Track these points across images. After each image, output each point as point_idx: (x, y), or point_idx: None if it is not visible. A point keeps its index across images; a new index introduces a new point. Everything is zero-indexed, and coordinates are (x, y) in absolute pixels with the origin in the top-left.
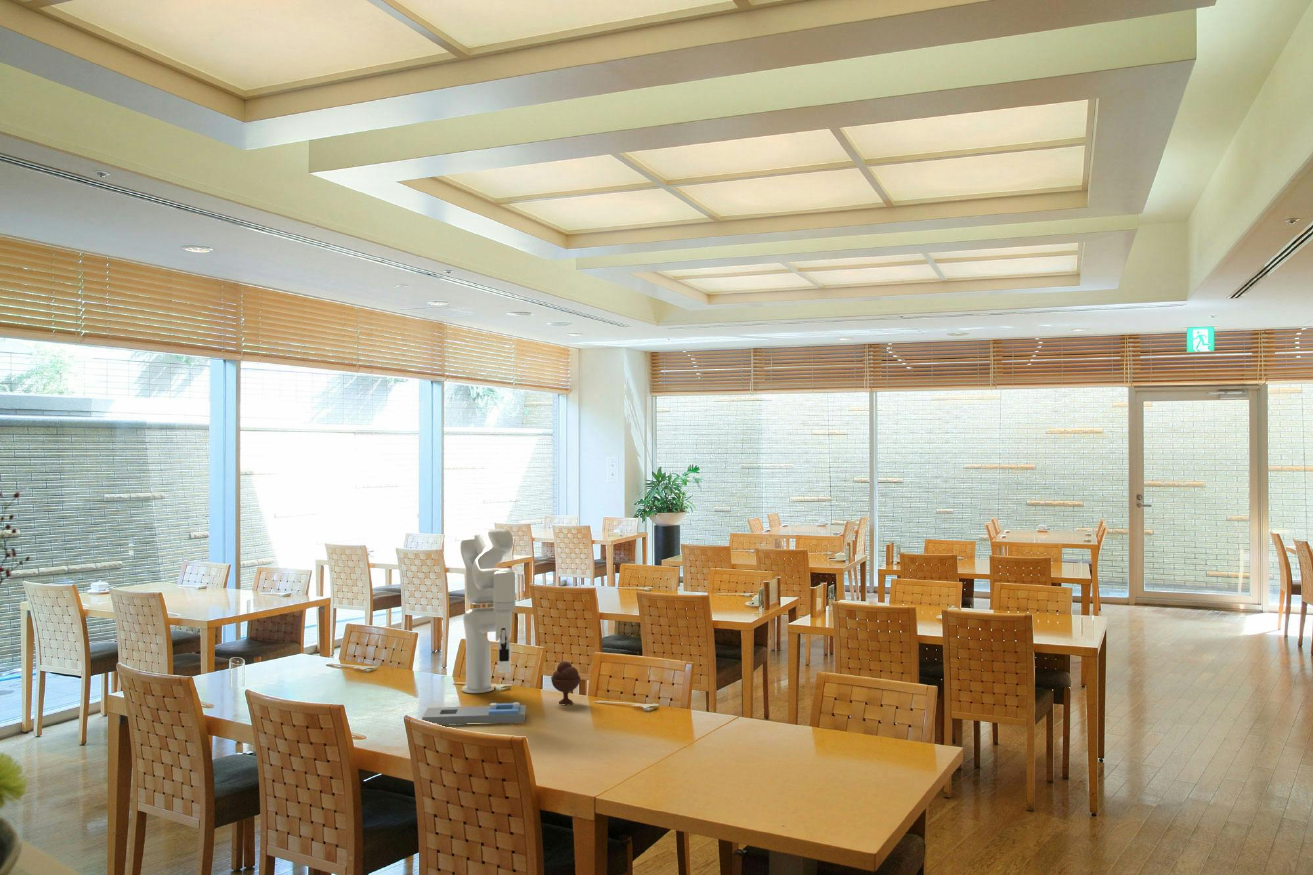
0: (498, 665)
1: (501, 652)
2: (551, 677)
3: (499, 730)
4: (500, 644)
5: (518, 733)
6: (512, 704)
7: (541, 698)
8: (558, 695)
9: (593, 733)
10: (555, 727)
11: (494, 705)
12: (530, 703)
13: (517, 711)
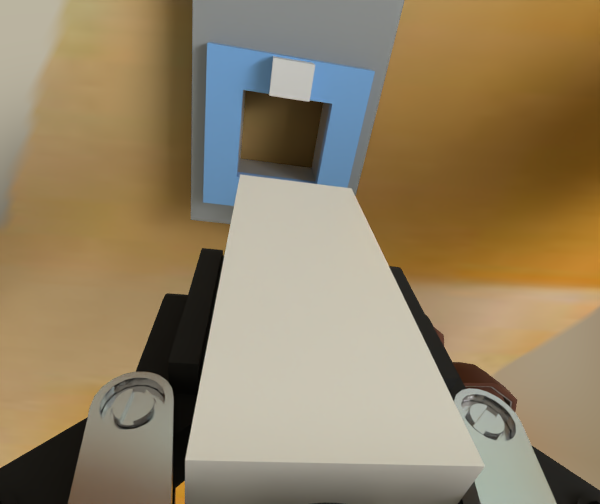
0: (234, 208)
1: (142, 354)
2: (482, 384)
3: (84, 87)
4: (76, 496)
5: (38, 169)
6: (323, 183)
7: (523, 284)
8: (527, 333)
9: (56, 382)
10: (126, 298)
11: (270, 86)
12: (476, 245)
13: (203, 196)
